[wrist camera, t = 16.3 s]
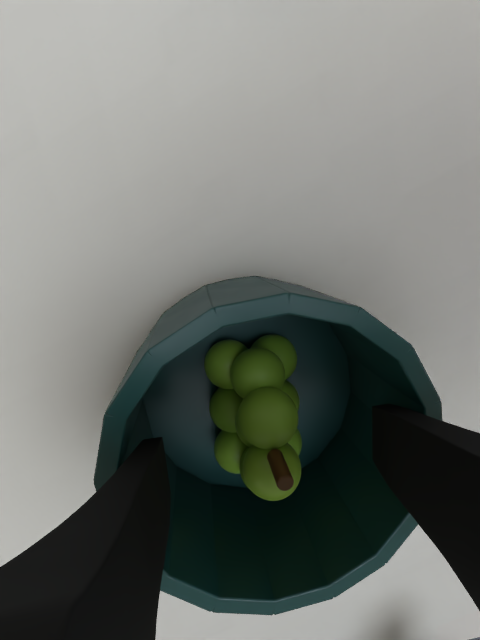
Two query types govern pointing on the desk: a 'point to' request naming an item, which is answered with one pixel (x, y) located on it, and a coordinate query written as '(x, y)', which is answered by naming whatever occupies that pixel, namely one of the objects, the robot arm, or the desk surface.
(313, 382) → the pot
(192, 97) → the desk surface
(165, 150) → the desk surface
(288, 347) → the grapes
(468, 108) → the desk surface
